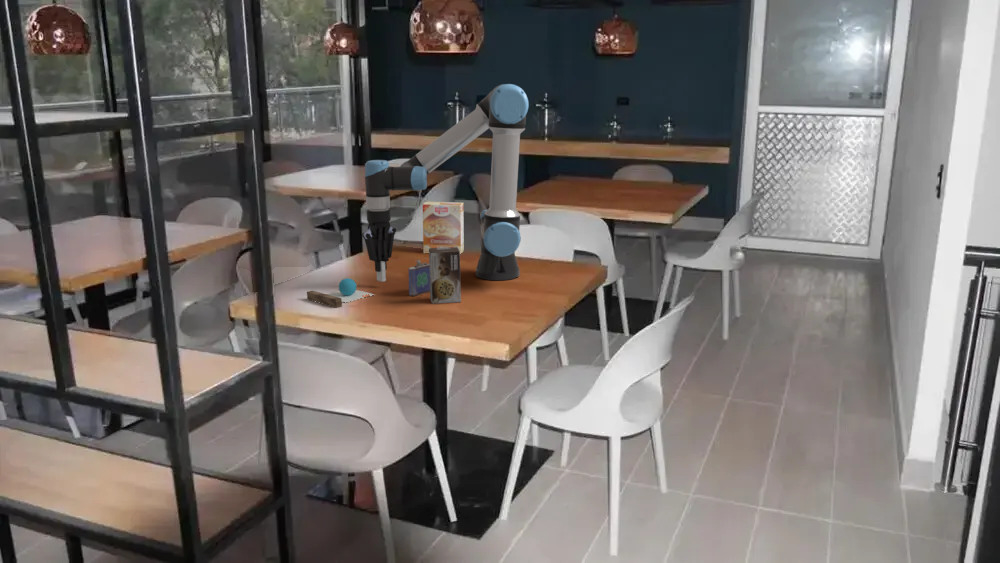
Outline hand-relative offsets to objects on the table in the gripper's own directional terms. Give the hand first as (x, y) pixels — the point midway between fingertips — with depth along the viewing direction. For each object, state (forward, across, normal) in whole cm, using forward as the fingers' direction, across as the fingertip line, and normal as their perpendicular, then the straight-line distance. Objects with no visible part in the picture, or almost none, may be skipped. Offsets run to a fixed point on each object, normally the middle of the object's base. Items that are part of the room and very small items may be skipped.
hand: (381, 280), depth 266 cm
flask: (+3, -3, +15) cm, 15 cm away
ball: (-1, +14, 0) cm, 14 cm away
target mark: (+2, +14, 0) cm, 14 cm away
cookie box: (+3, -2, +27) cm, 27 cm away
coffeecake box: (+3, -52, -21) cm, 56 cm away
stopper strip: (+2, +24, +1) cm, 24 cm away
